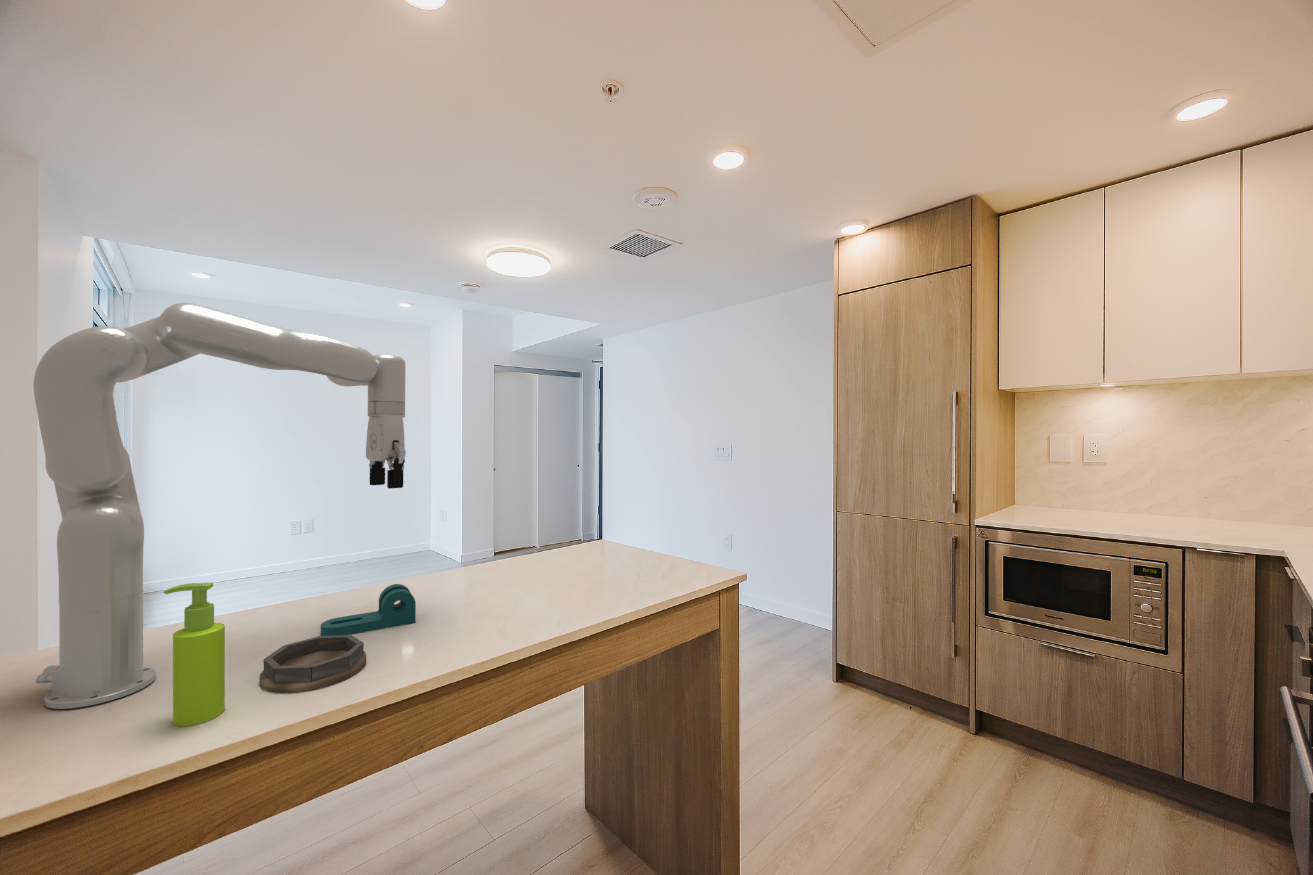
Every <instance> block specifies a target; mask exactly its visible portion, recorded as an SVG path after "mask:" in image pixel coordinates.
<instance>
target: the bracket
mask: <svg viewBox="0 0 1313 875" xmlns="http://www.w3.org/2000/svg"><path fill="white" fill-rule="evenodd" d="M397 602H398V603H397ZM416 606H417V605H416V599H415V597H414V595H413V593H412V592H411V591H410V589H409V588H408V586H406V585H404V584H400V583H396V584H395V583H394V584H391V585H390V584H389V585H388V586H386V587H385V588H384V589H383V590H382V591H381V593H380V595H379V598H378V610H376V611H370V612H364V613H358V614H353V615H345V616H340V617H334V618H330V619H327V620H325V621H323V622H322V623H320V636H337V635H352V636H353V635H356V634H357V635H358V634H361V633H362V634H363V633H367V632H372V631H374V632H375V631H379V630H385V629H390V628H394V627H395V628H396V627H400V626H401V627H403V626H406V625H411V624H416V612H417V611H416V610H417V609H416Z"/></svg>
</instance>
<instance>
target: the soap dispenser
mask: <svg viewBox="0 0 1313 875" xmlns="http://www.w3.org/2000/svg"><path fill="white" fill-rule="evenodd" d="M213 587H214V582H191V583H190V582H189V583H184V584H179V585H176V586H175V585H174V586H172V587H169V588H167V589H165V590H164V591H162V593H163V594H165V595H168V594H172V593H177V592H186V591H187V592H188V591H191V604H189V605H188V606H186V607H185V608H184V611H183V612H184V616H183V617H184V624H183V628H181V629H178V630H177V631H175V632H174V633H172V724H173V725H174V726H177V727H190V726H195V725H199V724H203V723H206V722H208V721H210V720H213V719H216V718H217V717H219V716H220V715H221V714H223V713H224V712H225V710H226V706H225V705H226V704H225V703H226V702H225V697H226V695H225V694H226V689H225V688H226V687H225V686H226V685H225V682H226V681H225V679H226V676H225V673H226V672H225V670H226V667H225V665H226V664H225V663H226V662H225V661H226V660H225V659H226V658H225V657H226V655H225V654H226V652H225V646H226V643H225V642H226V639H225V637H226V631H225V630H226V629H225V628H226V626H225V624H224V623H221V622H215V604H214V603H213V602H210V601H208V590H210V589H211V588H212V589H213Z"/></svg>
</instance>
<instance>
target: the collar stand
mask: <svg viewBox="0 0 1313 875" xmlns="http://www.w3.org/2000/svg"><path fill="white" fill-rule="evenodd" d="M366 665H367V653H366V651H365V650H364V642H363V641H362V640H360V639H358V638H356V637H355V636H354V635H353V634H352V635H337V636H321V635H318V636H315V637H314V636H313V637H311V638H308V639H303V640H301V641H299V640H298V641H296V642H293V643H288V644H285V645H281V647H279V648H278V649H277V650H275V651H274V652H272V653H271V654H269V655H267V656H266V657H265V658H263V669H262V671H261V672H260V675H259V685H260V688H261V689H262V690H264V691H265V692H269V693H274V694H297V693H303V692H309V691H313V690H319V689H323V688H327V687H330V686H334V685H336V684H339V683H341V682H344V681H346V680H348V679H350V678H352V677H354V676H356V675H357V674H358V673H360V672H361V671H362V670H363V669H364V668H365V667H366Z"/></svg>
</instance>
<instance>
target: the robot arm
mask: <svg viewBox="0 0 1313 875" xmlns="http://www.w3.org/2000/svg"><path fill="white" fill-rule="evenodd" d="M200 354H202V355H206V356H210V357H213V358H220V359H223V360H227V361H231V362H236V363H240V364H244V365H248V366H253V367H256V368H261V369H268V370H276V371H300V372H308V373H314V374H317V375H322V376H326V378H327V379H328V380H329V381H330V382H332V383H334V384H335V385H338V386H341V387H362V386H363V387H364V386H367V417H368V422H367V428H366V429H367V430H366V442H365V443H366V444H365V445H366V446H365V458H366V459H367V460H368V461H369V464H368V467H369V485H370V486H382V485H385V484H386V483H387V485H386V487H387V489H402V488H404V469H405V462H406V459H405V458H406V453H407V452H406V449H405V447H406V446H405V444H406V443H405V427H404V418H406V362H405V359H403V358H402V357H401V356H397V355H392V354H374V355H373V354H372V353H371V352H370V351H368V350H367V349H365V348H362V347H360V346H357V345H354V344H351V343H348V342H345V341H340V340H337V339H334V338H329V337H326V336H321V335H318V334H312V333H307V332H302V331H297V330H294V329H290V328H284V327H279V326H276V325H271V324H268V323H263V322H260V321H257V320H252V319H249V318H246V317H242V316H239V315H236V314H231V313H228V312H225V311H222V310H218V309H214V308H211V307H208V306H205V305H200V304H197V303H196V304H195V303H191V302H190V303H189V302H178V303H174V304H172V305H170V306H168V307H166V308H165V309H164V310H163V311H162V312H161V314H160V315H159V316H156V317H154V318H151V319H149V320H146V321H143V322H140V323H137V324H135V325H132V326H128V327H125V328H120V327H117V326H116V327H115V326H107V325H104V326H103V325H101V326H92V327H88V328H84V329H81V330H78V331H76V332H74V333H72V334H69V335H66V336H65V337H64V338H62V339H60V340H58V341H57V342H56V343H54V344H53V345H52V346H51V347H50V348H49V349H48V350H47V351H45V353H44V354H43V356H42V357H41V358H40V361H39V362H38V364H37V367H36V369H35V372H34V376H33V377H34V378H33V395H34V402H35V409H36V412H37V418H38V426H39V431H40V436H41V439H42V440H41V441H42V444H43V451H44V455H45V458H44V459H45V464H44V465H45V470H46V473H47V475H48V477H49V478H50V480H51V481H53V484H54V489H55V493H56V497H57V498H56V499H57V503H58V506H59V511H60V515H61V519H62V520H61V521H60V524H59V526H58V530H57V537H56V553H57V567H58V568H57V571H58V608H59V613H58V615H59V616H58V621H59V622H58V623H59V624H58V625H59V627H58V629H59V632H58V633H59V634H58V635H59V637H58V640H59V641H58V642H59V648H58V649H59V650H58V651H59V652H58V654H59V656H58V658H59V663H58V665H48V666H47V667H45V668H44V669H43V671H42V673H41V674H39V675H38V676H37V677H36V679H35V683H36V684H48V683H49V684H50V683H51V690H50V691H49V692H47V693H46V695H45V696H44V698H43V699H44V706H46V708H49V709H52V710H67V709H69V710H71V709H78V708H83V707H89V706H94V705H98V704H103V703H106V702H110V701H114V700H117V699H120V698H123V697H126V696H129V695H132V694H134V693H136V692H138V691H140V690H142V689H144V688H146V687H148V686H149V685H150V684H152V683H153V681H155V679H156V677H157V672H156V671H157V670H155V669H154V668H152V667H150V666H144V543H145V525H144V518H143V515H142V512H141V508H140V502H139V498H138V494H137V489H136V485H135V480H134V475H133V470H132V465H131V464H132V463H131V460H130V455H129V452H128V451H127V449H126V448H125V447H124V444H123V441H122V437H121V432H120V428H119V423H118V420H117V419H118V418H117V411H116V405H115V400H114V389H115V386H116V384H117V383H123V382H124V383H125V382H128V381H133V380H135V379H136V380H137V379H139V378H141V377H143V376H146V375H148V374H151V373H153V372H157V371H159V370H163V369H164V368H167V367H170V366H173V365H175V364H178V363H180V362H183V361H185V360H189V359H190V358H193V357H195V356H197V355H200ZM385 464H387V466H388V469H387V471H386V467H384V466H385ZM386 472H387V475H386ZM386 477H387V478H386ZM386 481H387V482H386Z"/></svg>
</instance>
